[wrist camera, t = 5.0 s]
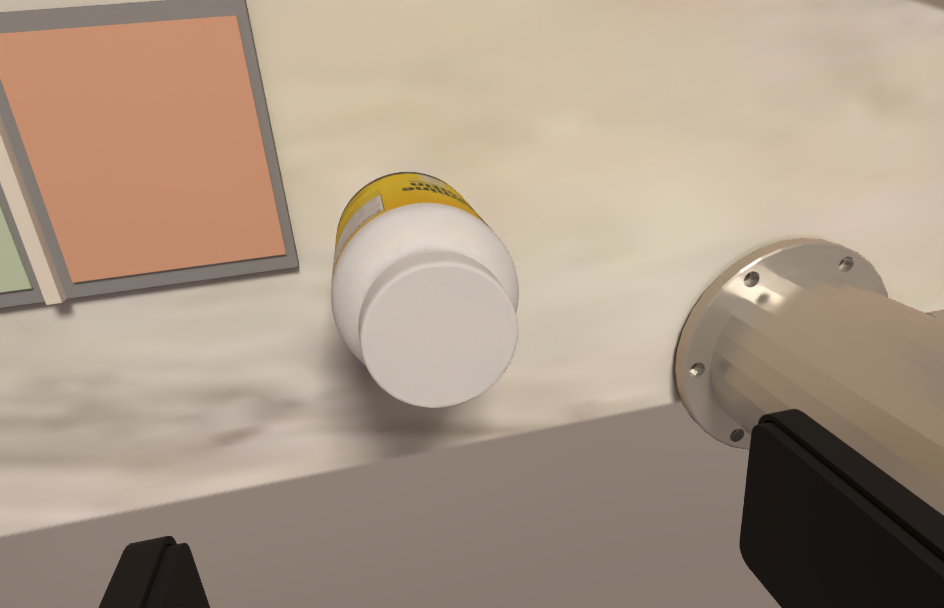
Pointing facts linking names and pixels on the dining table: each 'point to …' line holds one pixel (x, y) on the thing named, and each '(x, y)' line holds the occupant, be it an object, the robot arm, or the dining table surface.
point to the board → (134, 150)
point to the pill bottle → (423, 291)
